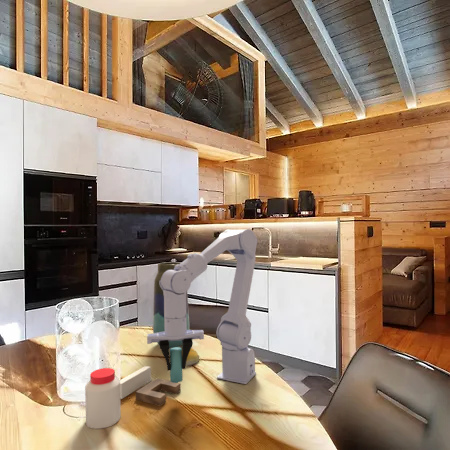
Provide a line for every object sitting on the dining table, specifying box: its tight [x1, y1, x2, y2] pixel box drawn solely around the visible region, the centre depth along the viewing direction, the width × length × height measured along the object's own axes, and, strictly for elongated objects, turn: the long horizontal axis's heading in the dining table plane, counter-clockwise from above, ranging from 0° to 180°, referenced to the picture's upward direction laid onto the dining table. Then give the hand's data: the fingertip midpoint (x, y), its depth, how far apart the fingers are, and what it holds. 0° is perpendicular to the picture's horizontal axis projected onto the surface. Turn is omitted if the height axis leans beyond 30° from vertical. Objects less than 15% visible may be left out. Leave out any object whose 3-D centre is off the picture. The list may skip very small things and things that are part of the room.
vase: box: [152, 261, 190, 349], centre depth 132 cm, size 14×14×31 cm
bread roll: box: [185, 347, 200, 367], centre depth 116 cm, size 8×9×4 cm
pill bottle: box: [84, 367, 122, 430], centre depth 81 cm, size 8×8×11 cm
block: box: [135, 377, 181, 407], centre depth 93 cm, size 8×9×2 cm
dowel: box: [169, 346, 184, 383], centre depth 90 cm, size 3×3×8 cm
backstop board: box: [119, 365, 152, 400], centre depth 97 cm, size 2×12×4 cm, turn 153°
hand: (176, 368), depth 90 cm, fingers closed on dowel, 3 cm apart
